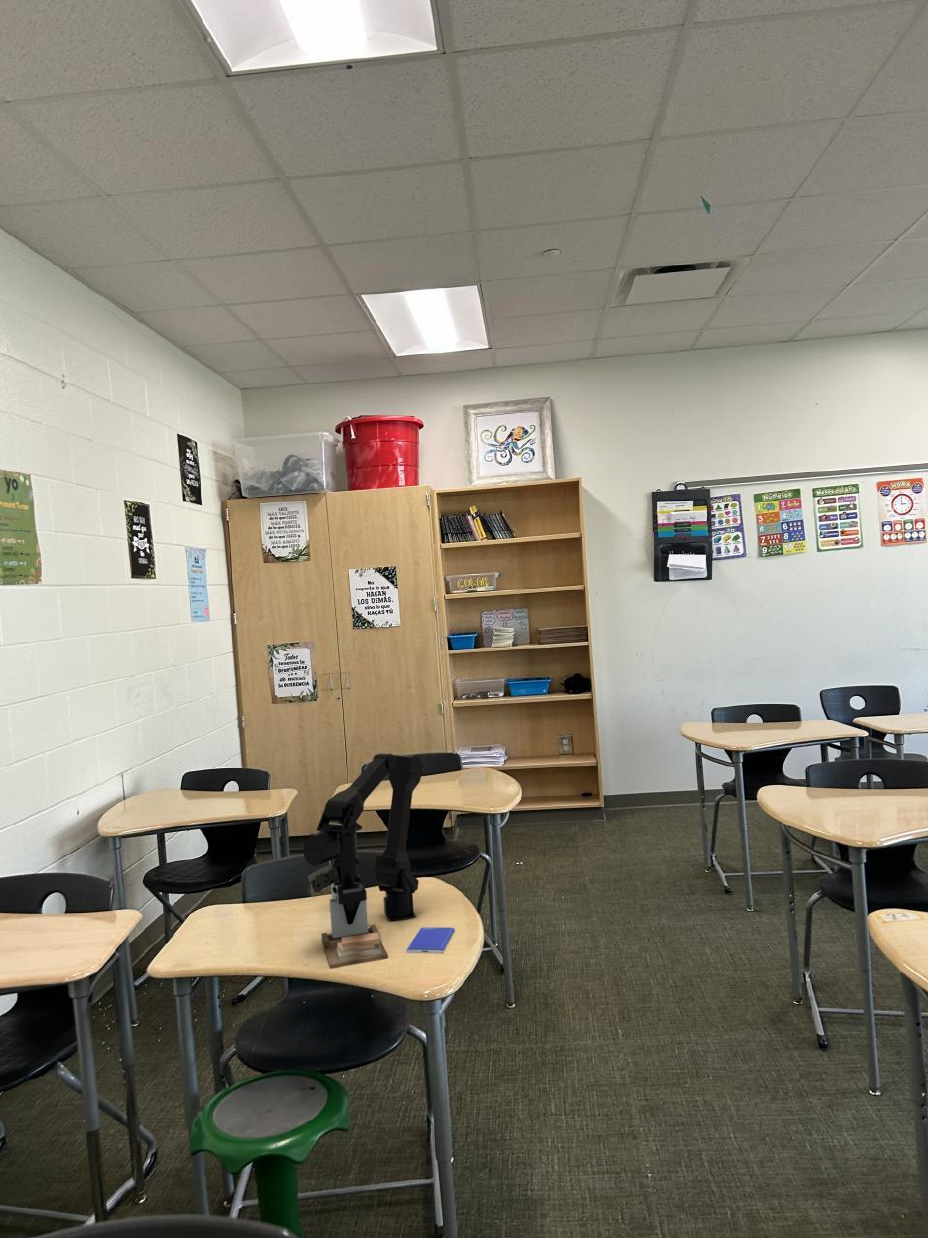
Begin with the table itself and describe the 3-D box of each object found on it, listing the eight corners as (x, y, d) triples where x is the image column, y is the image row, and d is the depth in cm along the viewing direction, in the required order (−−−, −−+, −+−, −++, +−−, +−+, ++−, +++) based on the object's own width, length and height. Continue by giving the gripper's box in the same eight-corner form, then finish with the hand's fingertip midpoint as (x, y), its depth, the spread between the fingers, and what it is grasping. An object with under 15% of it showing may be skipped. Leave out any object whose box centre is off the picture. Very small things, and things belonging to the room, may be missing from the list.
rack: (375, 933, 189) (374, 924, 189) (387, 958, 174) (387, 947, 174) (322, 943, 185) (321, 933, 185) (329, 968, 171) (329, 958, 171)
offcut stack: (378, 945, 179) (377, 930, 179) (382, 954, 174) (381, 938, 174) (336, 953, 177) (335, 937, 177) (339, 961, 172) (338, 945, 172)
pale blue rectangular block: (366, 928, 186) (364, 894, 187) (368, 932, 184) (366, 897, 184) (331, 934, 184) (329, 899, 184) (333, 938, 182) (330, 902, 182)
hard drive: (420, 927, 188) (406, 948, 176) (454, 927, 187) (442, 948, 175) (420, 934, 188) (406, 955, 176) (455, 934, 187) (443, 956, 175)
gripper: (305, 848, 191) (309, 915, 191) (313, 869, 173) (317, 943, 173) (352, 842, 194) (356, 907, 194) (364, 862, 176) (369, 934, 176)
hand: (349, 922), depth 184 cm, fingers closed on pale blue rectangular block, 2 cm apart
